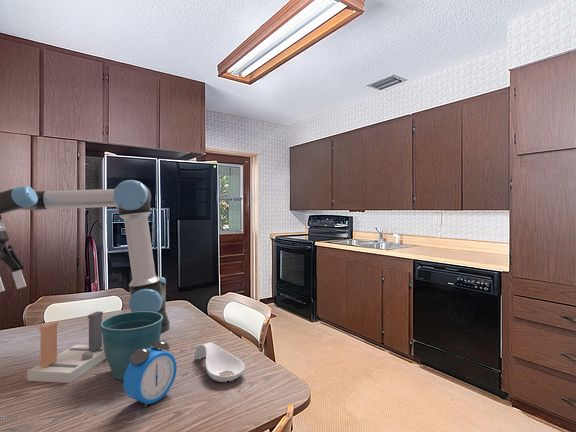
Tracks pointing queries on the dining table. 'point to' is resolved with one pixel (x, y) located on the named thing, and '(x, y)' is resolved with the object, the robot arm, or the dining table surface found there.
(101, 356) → the console
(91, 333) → the gray capped upright block
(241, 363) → the spoon rest
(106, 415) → the dining table surface
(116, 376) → the flower pot
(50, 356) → the terracotta paddle
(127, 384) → the alarm clock
